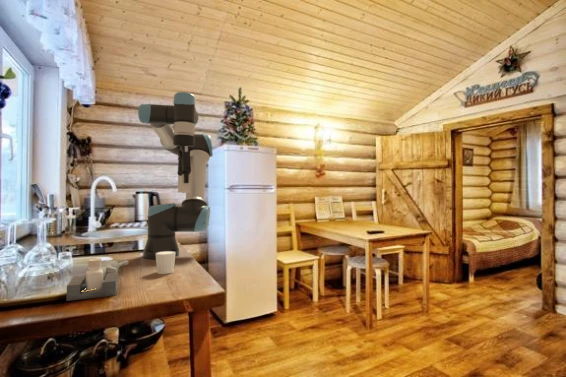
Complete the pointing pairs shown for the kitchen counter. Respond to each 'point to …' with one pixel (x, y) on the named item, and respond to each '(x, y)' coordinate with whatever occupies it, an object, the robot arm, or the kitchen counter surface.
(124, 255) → the kitchen counter surface
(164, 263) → the white cup
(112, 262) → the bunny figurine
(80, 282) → the socket mount
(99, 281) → the pepper shaker
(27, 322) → the kitchen counter surface
